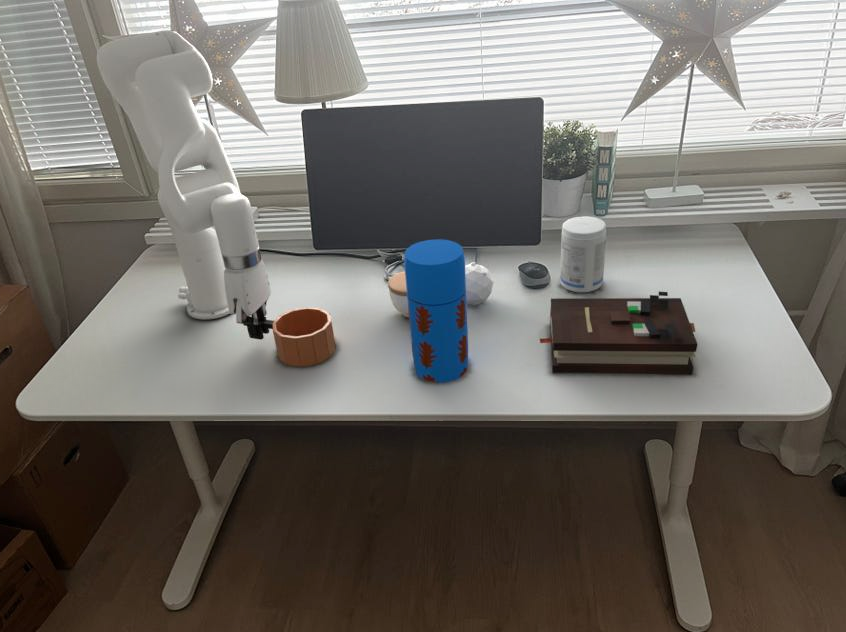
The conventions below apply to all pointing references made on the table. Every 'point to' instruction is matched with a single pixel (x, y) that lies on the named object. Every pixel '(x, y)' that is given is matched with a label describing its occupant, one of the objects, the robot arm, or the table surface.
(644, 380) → the table surface
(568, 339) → the decorative book
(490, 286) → the decorative ball
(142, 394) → the table surface
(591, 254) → the supplement tub
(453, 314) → the thermos
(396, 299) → the trinket box
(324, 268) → the table surface
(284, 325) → the copper saucepan
